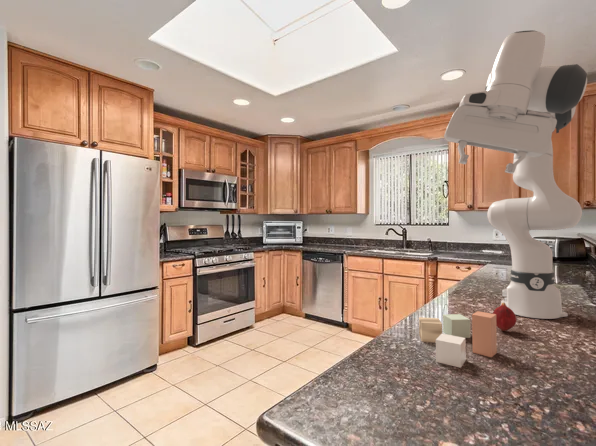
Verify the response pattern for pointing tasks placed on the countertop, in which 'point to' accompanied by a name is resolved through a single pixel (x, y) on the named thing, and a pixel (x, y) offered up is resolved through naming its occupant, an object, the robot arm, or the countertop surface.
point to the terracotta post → (484, 333)
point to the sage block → (456, 325)
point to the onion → (504, 317)
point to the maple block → (429, 329)
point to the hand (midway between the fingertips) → (485, 167)
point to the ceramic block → (451, 350)
